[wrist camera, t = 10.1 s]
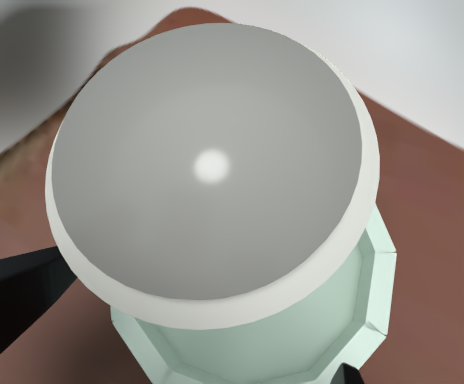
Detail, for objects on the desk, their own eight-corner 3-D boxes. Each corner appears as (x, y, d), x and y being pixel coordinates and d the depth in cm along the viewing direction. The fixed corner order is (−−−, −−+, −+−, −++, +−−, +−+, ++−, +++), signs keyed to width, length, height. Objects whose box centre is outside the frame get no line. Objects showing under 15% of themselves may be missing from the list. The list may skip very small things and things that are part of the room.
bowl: (349, 446, 14) (369, 480, 12) (92, 342, 17) (59, 350, 15) (386, 179, 19) (407, 158, 16) (180, 133, 22) (168, 109, 19)
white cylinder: (247, 334, 16) (189, 452, 3) (175, 258, 18) (-31, 150, 5) (317, 254, 17) (469, 117, 4) (243, 190, 19) (205, -30, 6)
